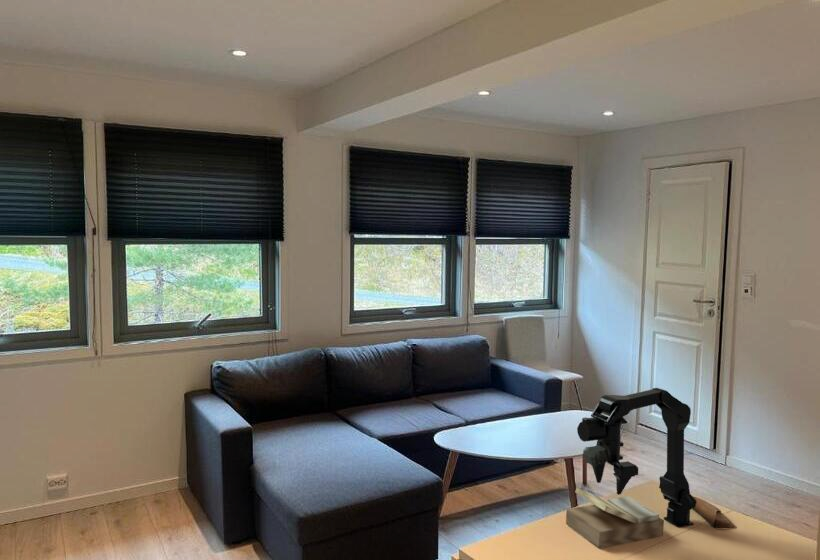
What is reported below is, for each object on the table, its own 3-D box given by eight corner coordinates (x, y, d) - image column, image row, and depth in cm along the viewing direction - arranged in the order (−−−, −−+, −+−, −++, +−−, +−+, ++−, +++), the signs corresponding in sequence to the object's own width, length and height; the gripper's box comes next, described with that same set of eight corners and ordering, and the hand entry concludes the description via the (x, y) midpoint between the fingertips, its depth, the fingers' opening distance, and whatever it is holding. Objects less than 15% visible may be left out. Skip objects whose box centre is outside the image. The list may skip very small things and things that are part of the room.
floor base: (626, 514, 197) (627, 494, 196) (663, 536, 182) (664, 515, 181) (565, 524, 188) (566, 504, 188) (598, 548, 173) (599, 527, 173)
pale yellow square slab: (604, 504, 192) (606, 499, 192) (635, 523, 179) (637, 518, 179) (575, 492, 188) (576, 487, 188) (604, 510, 174) (606, 506, 175)
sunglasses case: (739, 528, 188) (730, 511, 187) (720, 539, 188) (710, 522, 187) (709, 504, 206) (700, 488, 205) (691, 514, 206) (682, 498, 205)
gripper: (569, 431, 186) (567, 480, 187) (609, 450, 168) (607, 504, 169) (598, 428, 190) (597, 476, 191) (640, 446, 172) (638, 499, 173)
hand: (608, 488), depth 181 cm, fingers open, 9 cm apart
